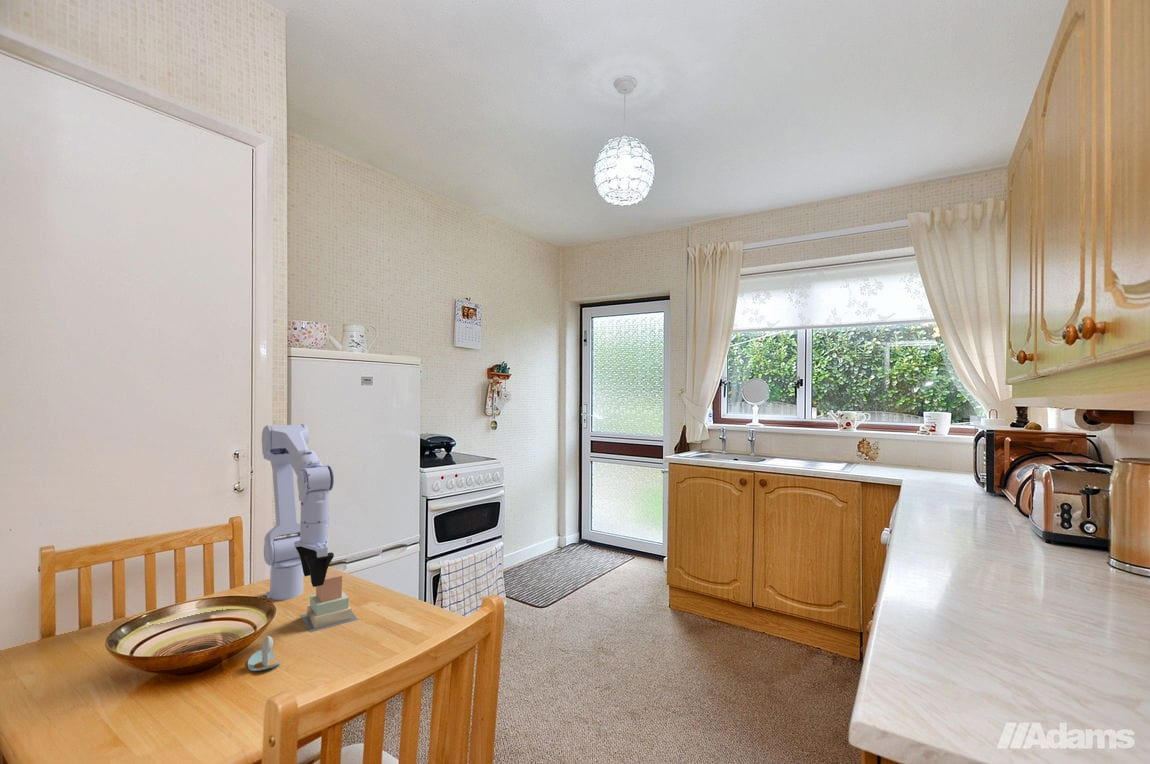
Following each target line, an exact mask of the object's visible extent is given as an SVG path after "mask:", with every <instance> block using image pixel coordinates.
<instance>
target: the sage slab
mask: <svg viewBox="0 0 1150 764" xmlns="http://www.w3.org/2000/svg"><path fill="white" fill-rule="evenodd" d="M309 605H310V606H311V608H312V609H313V611H314V612H315V614H316V615H317V616H320V615H324V614H328V613H332V612H336V611H340V610H344V609H348V605H349V596H348V595H346V593H345V592H344V591H343V590H342V598H338V599H334V600H330V601H325V602H320V601H319V599H318V598H317V597H316V593H315V594H311V595H309Z"/></svg>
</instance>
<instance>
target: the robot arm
mask: <svg viewBox="0 0 1150 764" xmlns="http://www.w3.org/2000/svg"><path fill="white" fill-rule="evenodd" d="M309 436H310V431H309V428H308V426H307V425H306V424H305V423H300V424H283V425H281V424H280V425H269V424H268V425H267V424H266V425H264V427H263V429H262V432H261V448H262V450H261V451H262V456H263V459H264V460H266V461H270V465H271V469H272V481H273V493H274V495H273V497H274V498H273V499H274V510H275V511H274V513H275V526H274V527H273V528H271V529H270V530H269V531H268V532H267V533H266V534H265V537H264V540H263V542H264V543H263V544H264V545H263V558H264V562H265V564H266V565H268V566H270V570H269V571H270V572H269V573H270V574H269V575H270V576H269V578H270V579H269V591H266V592H265V596H266V597H267V599H271V600H274V601H287V600H291V599H295V598H298V597H299V596H301V595H302V594H303V593H304V577H308V576H310V582H311V586H312V587H313V588H316V586H321V585H323V584H324V580H325V577H326V573H327V572H328V568H329V566H330V564H331V562H332V560H333V559H334V556H335V554H334V553H333V552H332V551H331V552H328V549H329V548H328V546H329V542H330V537H329V526H330V525H329V519H330V518H329V517H330V514H329V511H330V491H332V490H333V487H334V482H335V480H334V478H335V476H334V475H335V474H334V471H333V468H332V466H331V465H329V464H328V465H327V464H323V463H322V462H321V460H320V457H319V456H318V454H317V453H316V451H314V450H312V449H311V448H308V443H309V439H310V437H309ZM294 474H295V475H296V477H297V480H296V484H297V490H298V501H299V502H300V521H299V522H298V517H297V516H298V515H297V505H296V504H297V502H296V490H295V478H294ZM283 536H285V537H283Z"/></svg>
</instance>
